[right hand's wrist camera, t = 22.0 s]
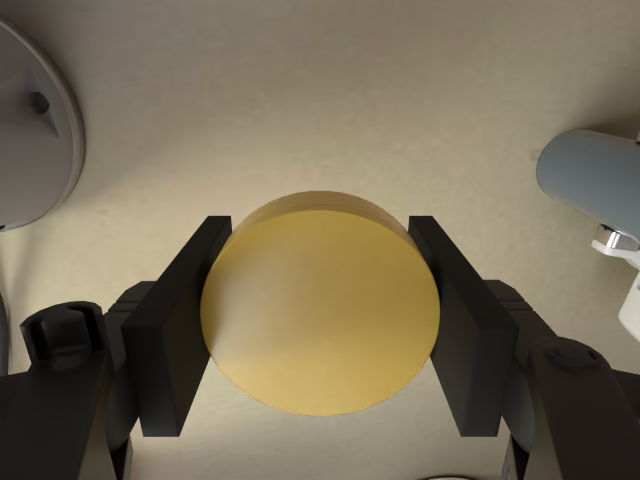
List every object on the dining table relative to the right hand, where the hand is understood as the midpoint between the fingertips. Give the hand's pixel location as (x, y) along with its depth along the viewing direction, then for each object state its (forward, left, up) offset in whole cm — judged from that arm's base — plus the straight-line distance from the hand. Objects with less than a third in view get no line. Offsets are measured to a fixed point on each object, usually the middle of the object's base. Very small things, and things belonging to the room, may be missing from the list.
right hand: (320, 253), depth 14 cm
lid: (0, 0, +4) cm, 4 cm away
